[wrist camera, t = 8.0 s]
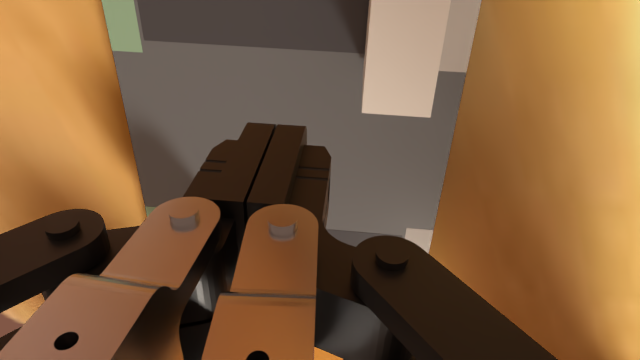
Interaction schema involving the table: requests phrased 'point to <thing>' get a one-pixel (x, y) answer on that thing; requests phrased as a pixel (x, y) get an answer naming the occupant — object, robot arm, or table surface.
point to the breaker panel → (284, 101)
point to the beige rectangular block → (403, 56)
